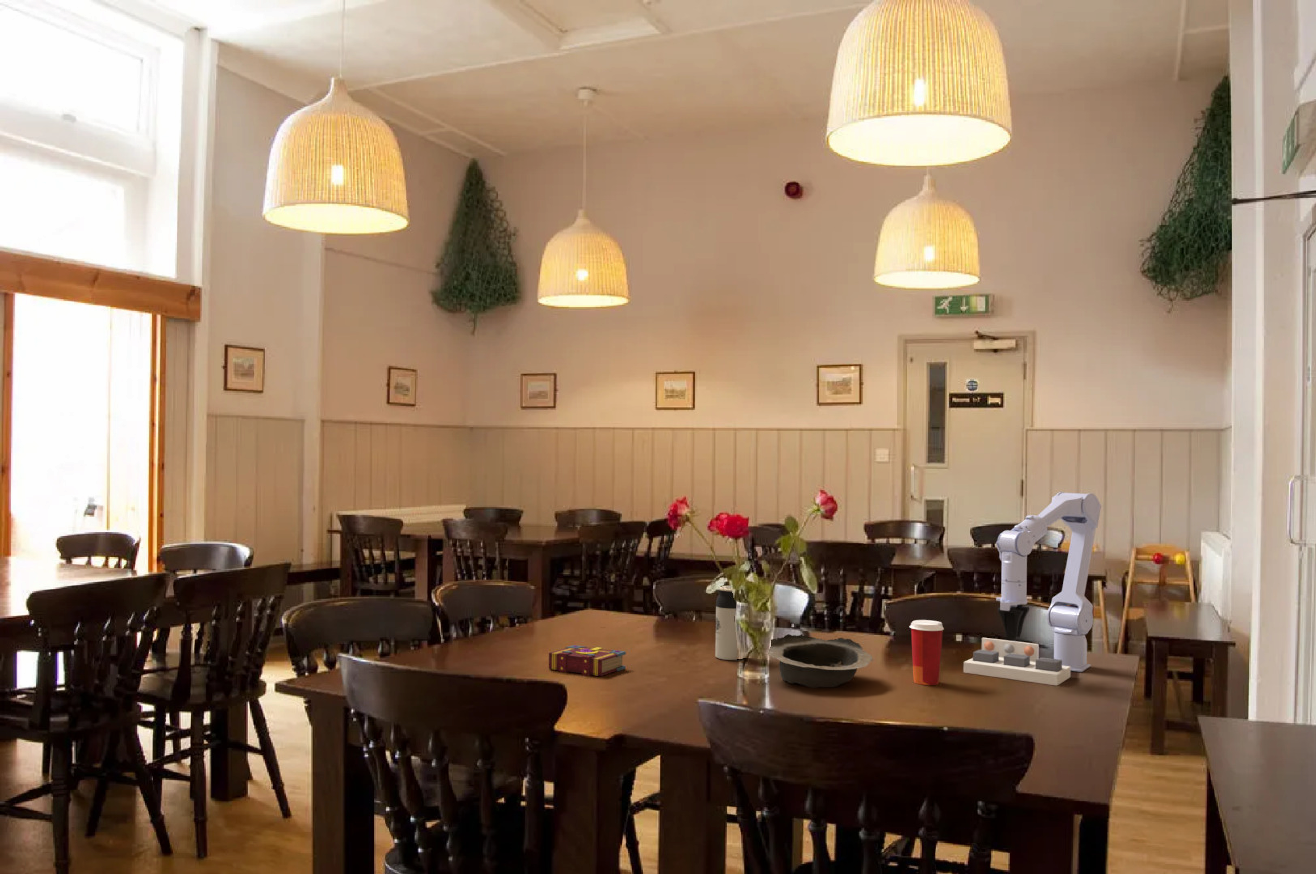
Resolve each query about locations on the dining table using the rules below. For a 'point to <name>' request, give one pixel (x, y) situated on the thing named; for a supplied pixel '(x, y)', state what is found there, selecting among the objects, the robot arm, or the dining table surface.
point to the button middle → (1017, 660)
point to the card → (1011, 648)
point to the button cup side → (1049, 664)
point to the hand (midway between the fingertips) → (1013, 637)
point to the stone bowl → (818, 660)
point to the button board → (1017, 672)
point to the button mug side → (986, 656)
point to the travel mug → (725, 625)
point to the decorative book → (586, 660)
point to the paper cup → (926, 651)
